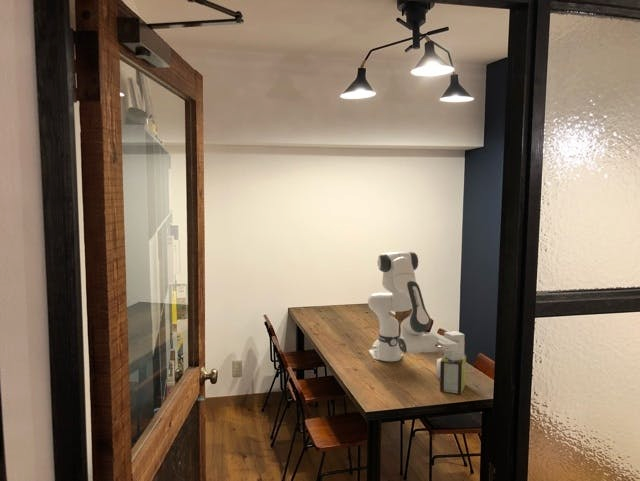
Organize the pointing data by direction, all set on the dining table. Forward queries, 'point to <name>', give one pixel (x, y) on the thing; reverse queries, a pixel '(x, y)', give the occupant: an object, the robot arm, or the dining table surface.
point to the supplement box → (459, 353)
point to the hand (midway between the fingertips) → (454, 340)
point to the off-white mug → (438, 367)
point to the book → (402, 317)
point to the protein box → (452, 375)
